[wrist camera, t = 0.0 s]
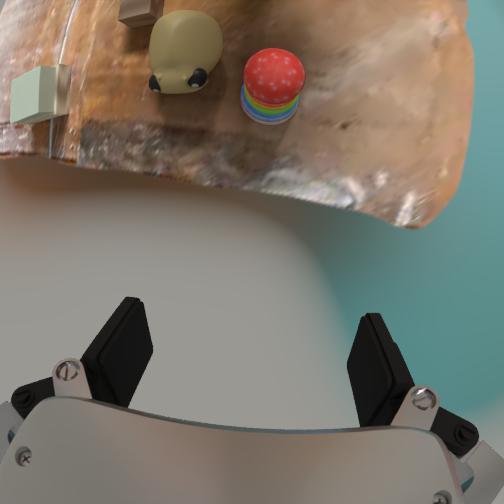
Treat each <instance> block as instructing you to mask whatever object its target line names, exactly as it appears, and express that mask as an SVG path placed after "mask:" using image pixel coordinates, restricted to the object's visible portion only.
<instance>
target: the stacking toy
mask: <svg viewBox="0 0 504 504" xmlns="http://www.w3.org/2000/svg"><path fill="white" fill-rule="evenodd" d="M243 78H244V83H243V85H242V88H241V93H240V101H241V105H242V107H243V110H244V111H245V113H246V114H247V115H248V116H249V117H250V118H251V119H253V120H254V121H256V122H258V123H261V124H265V125H277V124H281V123H284V122H285V121H287V120H289V119H290V118H291V117H292V116H293V115H294V114H295V112H296V110H297V108H298V106H299V101H300V92H301V90H302V88H303V86H304V83H305V71H304V68H303V65H302V63H301V62H300V60H299V59H298V58H297V57H296V56H295V55H293V54H292V53H290V52H289V51H286V50H283V49H279V48H268V49H264V50H261V51H259V52H257V53H255V54H254V55H253V56H252V57H251V58H250V59H249V60H248V61H247V63H246V65H245V68H244V72H243Z"/></svg>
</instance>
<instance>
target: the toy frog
mask: <svg viewBox="0 0 504 504" xmlns="http://www.w3.org/2000/svg"><path fill="white" fill-rule="evenodd" d="M222 50H223V34H222V31H221V28H220V26H219V24H218V23H217V22H216V20H215V19H214V18H212V17H211V16H210V15H208V14H206V13H203V12H200V11H195V10H179V11H174V12H171V13H168V14H165V15H164V16H162V17H161V18H159V19H158V20H157V22H156V23H155V25H154V27H153V30H152V33H151V38H150V45H149V64H150V68H151V71H152V74H153V75H152V76H151V78H150V79H149V87H150V89H151V90H152V91H155V92H160V93H166V94H181V93H191V92H195V91H197V90H199V89H201V88H203V87H204V86H205V85H206V84H207V83H208V75H207V74H208V73H209V72H210V71H211V70H212V69H213V68H214V67H215V66H216V64H217V63H218V61H219V59H220V57H221V54H222Z"/></svg>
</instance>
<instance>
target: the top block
mask: <svg viewBox="0 0 504 504" xmlns="http://www.w3.org/2000/svg"><path fill="white" fill-rule="evenodd" d="M55 77H56V67H51V66H43V65H40V66H38V67H36V68H34V69H32V70H30V71H28V72H26V73H24V74H23V75H21V76H19V77H17V78H15V79H14V80H12V86H11V105H10V124H14V123H21V122H27V121H29V120H32V119H35V118H37V117H40V116H43V115H46V114H49V113H52V112H54V99H55Z"/></svg>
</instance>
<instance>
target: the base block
mask: <svg viewBox="0 0 504 504" xmlns="http://www.w3.org/2000/svg"><path fill="white" fill-rule="evenodd" d="M52 67H56V77H55V99H54V112H52V113H49V114H46V115H43V116H40V117H37V118H35V119H32V120H29V121H27V122H24V125H25V124H33V123H39V122H42V121H45V120H49V119H52V118H56V117H59V116H63V115H67V114H69V109H70V84H71V70H72V66H69V65H63V64H57V65H55V66H52Z"/></svg>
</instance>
